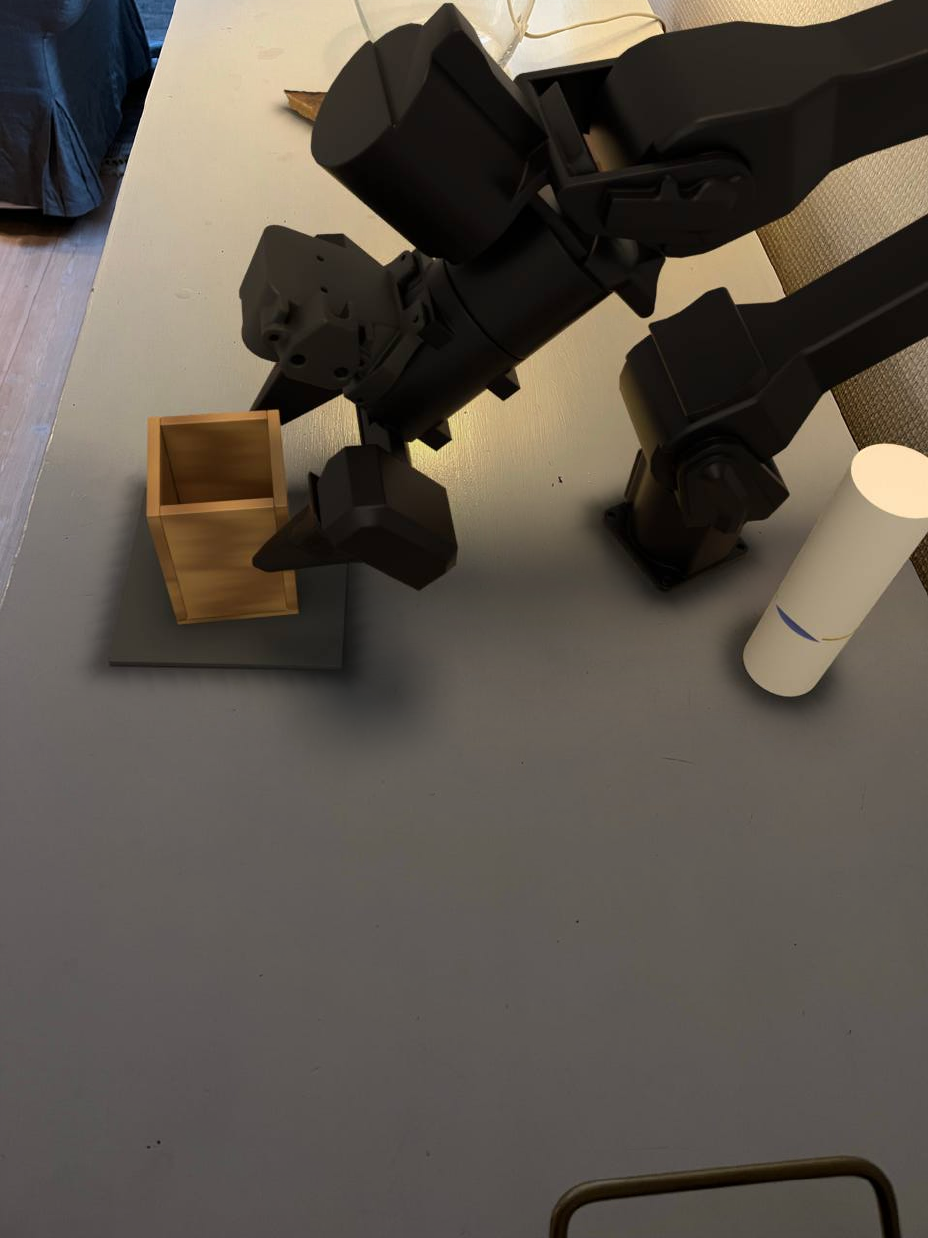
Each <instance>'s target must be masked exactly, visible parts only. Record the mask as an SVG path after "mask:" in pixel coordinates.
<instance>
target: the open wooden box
mask: <svg viewBox="0 0 928 1238" xmlns="http://www.w3.org/2000/svg"><path fill="white" fill-rule="evenodd" d="M282 435H283V434H282V426H281V425H280V415H279V410H268V411H249V410H248V411H236V412H235V411H233V412H218V413H200V414H199V413H198V414H185V415H168V416H167V415H166V416H165V415H164V416H149V417H147V444H146V447H147V449H146V450H147V452H146V454H147V455H146V460H147V461H146V487H147V515H146V516H147V520H148V523H149V526H150V530H151V533H152V537H153V540H154V544H155V547H156V551H157V554H158V557H159V561H160V564H161V568H162V571H163V575H164V578H165V582H166V585H167V588H168V592H169V595H170V599H171V602H172V606H173V609H174V613H175V616H176V619H177V623H178V624H179V625H181V624H192V623H203V622H213V621H224V620H235V619H246V618H257V617H268V616H279V615H290V614H298V613H299V608H298V597H297V586H296V575H295V570H287V571H279V572H271V573H268V572H264V571H262V570H260V569H258V568H256V567H254V566H253V565H252V558H253V556H254V555H255V554H256V553H257V552H258V551H259V550H260V548H261V547H262V546H263V545H264V544H265V543H266V542H267V541H268V540H269V539H270V538H271V537H272V536H273V535H274V534H276V533H277V532H278V531H279V530H280V529H281V528H282V527H283V526H284V525H285V524H287V523H288V522H289V521H290V511H289V501H288V492H289V491H288V483H287V473H286V463H285V455H284V454H285V453H284V445H283V437H282Z"/></svg>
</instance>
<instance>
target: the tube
mask: <svg viewBox="0 0 928 1238" xmlns="http://www.w3.org/2000/svg"><path fill="white" fill-rule="evenodd" d="M927 534H928V456H926V455H924V454H923V453H921V452H919V451H917V450H915V449H913V448H910V447H907V446H904V445H900V444H895V443H876V444H872V445H868V446H866V447H865V448H863V449H861V450H859V452H858V453H856V454H855V455H854V457H853V459H852V461H851V463H850V464H849V466H848V468H847V469H846V471H845V473H844V475H843V476H842V478H841V480H840V481H839V483H838V485H837V486H836V488H835V490H834V492H833V494H832V495H831V496H830V499H829V501H828V502H827V504H826V505H825V507H824V509H823V511H822V513H821V514H820V516H819V518H818V519H817V521H816V522H815V524H814V526H813V528H812V529H811V531H810V533H809V535H808V536H807V538H806V540H805V542H804V543H803V545H802V547H801V548H800V550H799V552H798V554H797V556H796V557H795V559H794V561H793V562H792V564H791V566H790V568H789V570H788V571H787V573H786V575H785V576H784V578H783V580H782V582H781V583H780V586H779V587H778V589H777V590H776V592H775V594H774V596H773V597H772V599H771V600H770V602H769V604H768V605H767V606H768V607H767V608H766V609H765V611H764V613H763V614H762V616H761V618H760V620H759V621H758V623H757V625H756V627H755V628H754V630H753V632H752V634H751V635H750V637H749V639H748V641H747V642H746V644H745V646H744V649H743V654H742V660H743V665H744V667H745V670H746V673H748V675H749V676H750V678H751V679H752V680H753V681H754V682H755V683H756V684H757V685H758V686H759V687H761V688H762V689H764V690H766V691H768V692H769V693H772V694H775V695H777V696H782V697H791V698H792V697H799V696H802V695H805V694H807V693H809V692H811V690H812V689H813V688H815V687H816V685H817V684H818V682H819V681H820V680H821V678H822V677H823V676H824V674H825V673H826V671H827V670H828V669H829V667H830V666H831V665H832V663H833V662H834V661H835V660H836V658H837V657H838V655H839V654H840V652H841V651H842V650H843V649H844V647H845V645H846V644H847V643H848V641H849V640H850V638H851V637H852V636H853V635H854V634H855V632H856V631H857V629H858V628H859V626H861V624H862V622H863V621H864V619H865V618H867V616H868V614H869V613H870V612H871V610H872V609H873V608H874V606H875V604H876V603H877V602H878V601H879V599H880V597H882V595H883V594H884V592H885V591H886V589H887V588H888V587H889V586H890V585H891V583H892V581H893V580H894V579H895V577H896V576H897V575H898V573H899V572H900V570H901V569H902V568H903V566H904V565H905V563H906V562H907V561H908V560H909V558H910V557H911V556H912V554H913V553H914V551H915V550H916V549H917V547H918V546H919V544H920V543H921V542H922V540H923V539H924V538H925V537H926V535H927Z"/></svg>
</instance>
